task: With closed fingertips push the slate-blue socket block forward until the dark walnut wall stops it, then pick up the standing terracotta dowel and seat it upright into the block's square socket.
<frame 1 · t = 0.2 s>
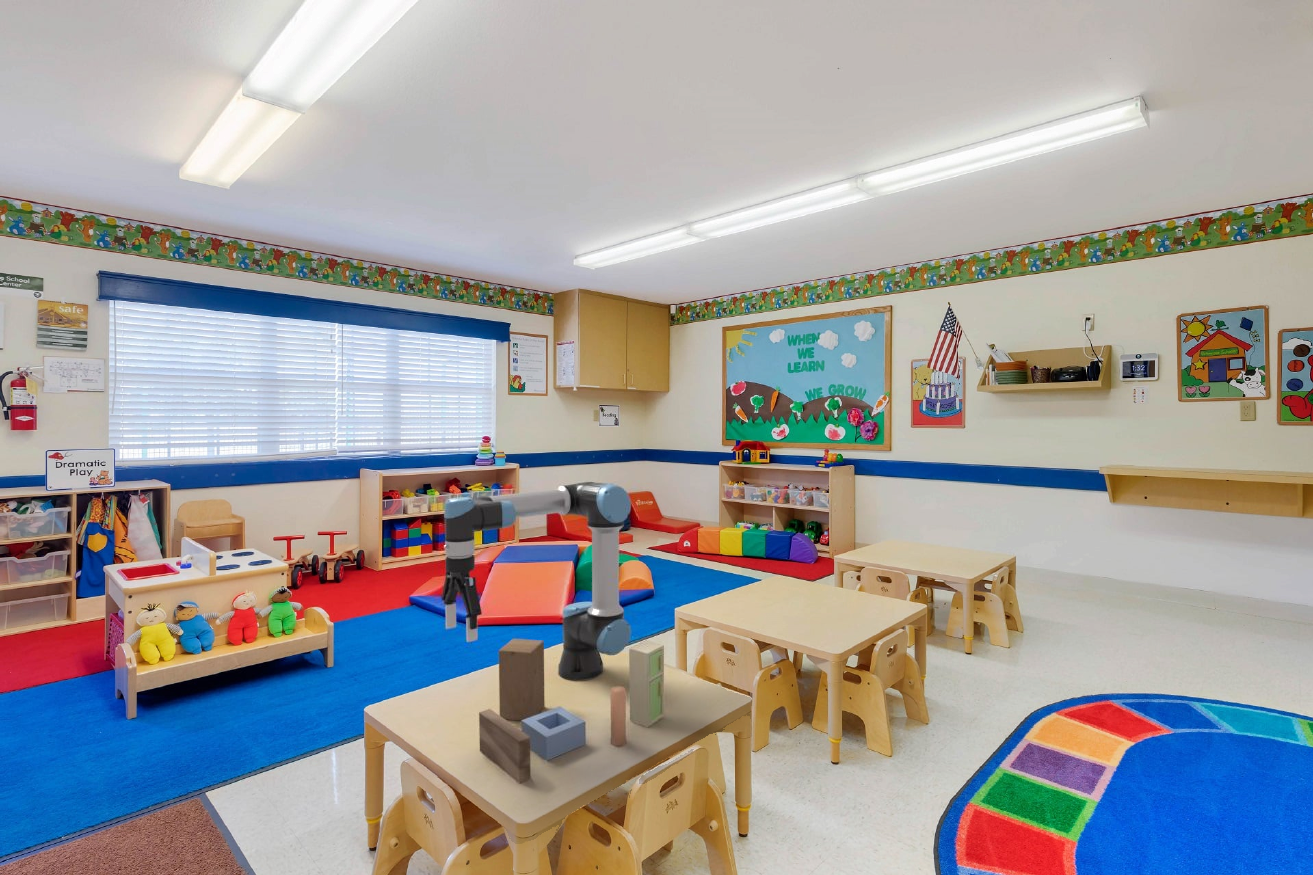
hand: (461, 634, 170), 28 cm above the table, fingers open, 13 cm apart
wooden block: (522, 713, 184), on the table
socket block: (553, 743, 166), on the table, slide at 0.0 cm
dowel: (618, 741, 167), on the table
wall: (504, 763, 156), on the table
toy refrigerator: (647, 720, 179), on the table
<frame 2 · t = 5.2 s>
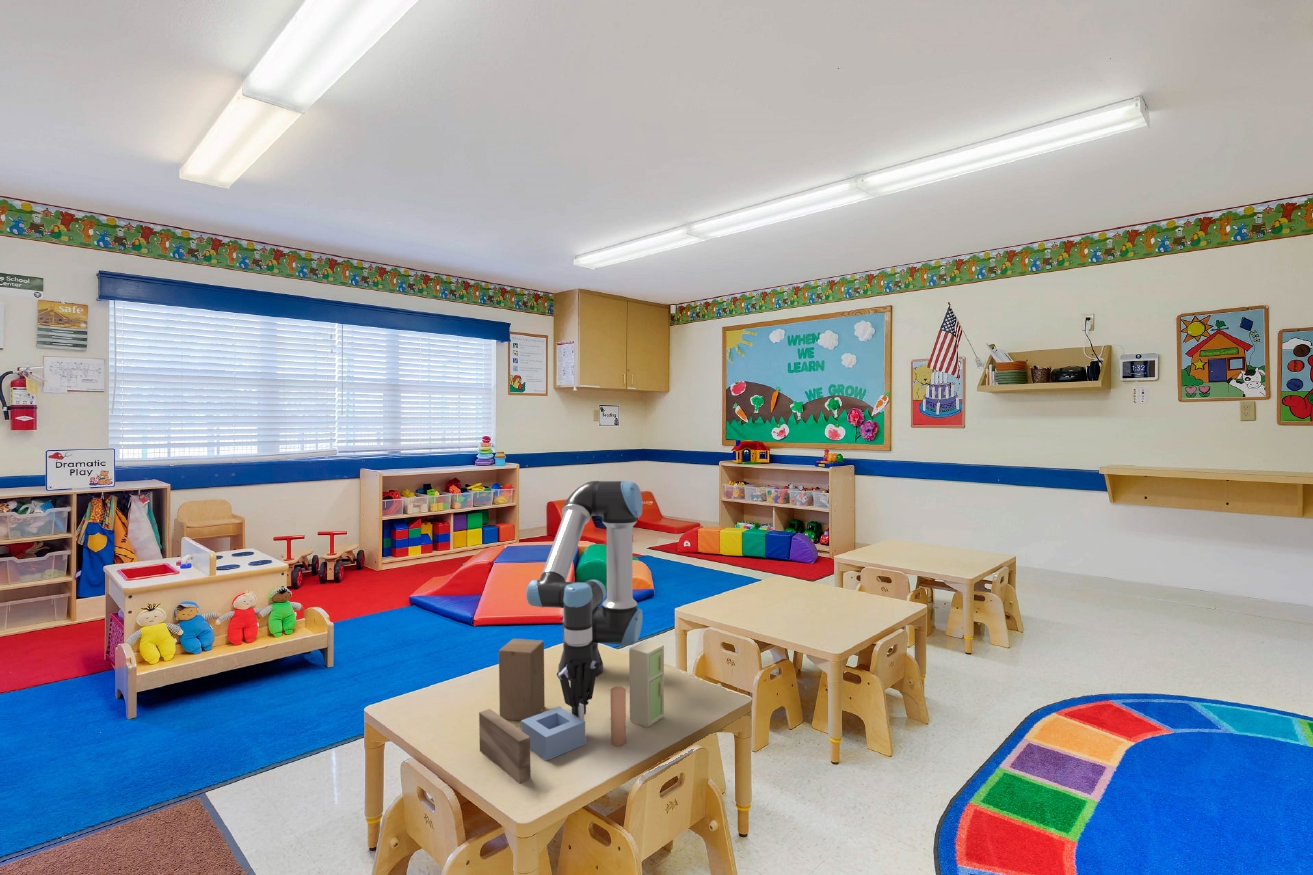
hand: (579, 727, 171), 2 cm above the table, fingers closed
socket block: (553, 743, 166), on the table, slide at 0.1 cm, touching gripper
everything else where it was.
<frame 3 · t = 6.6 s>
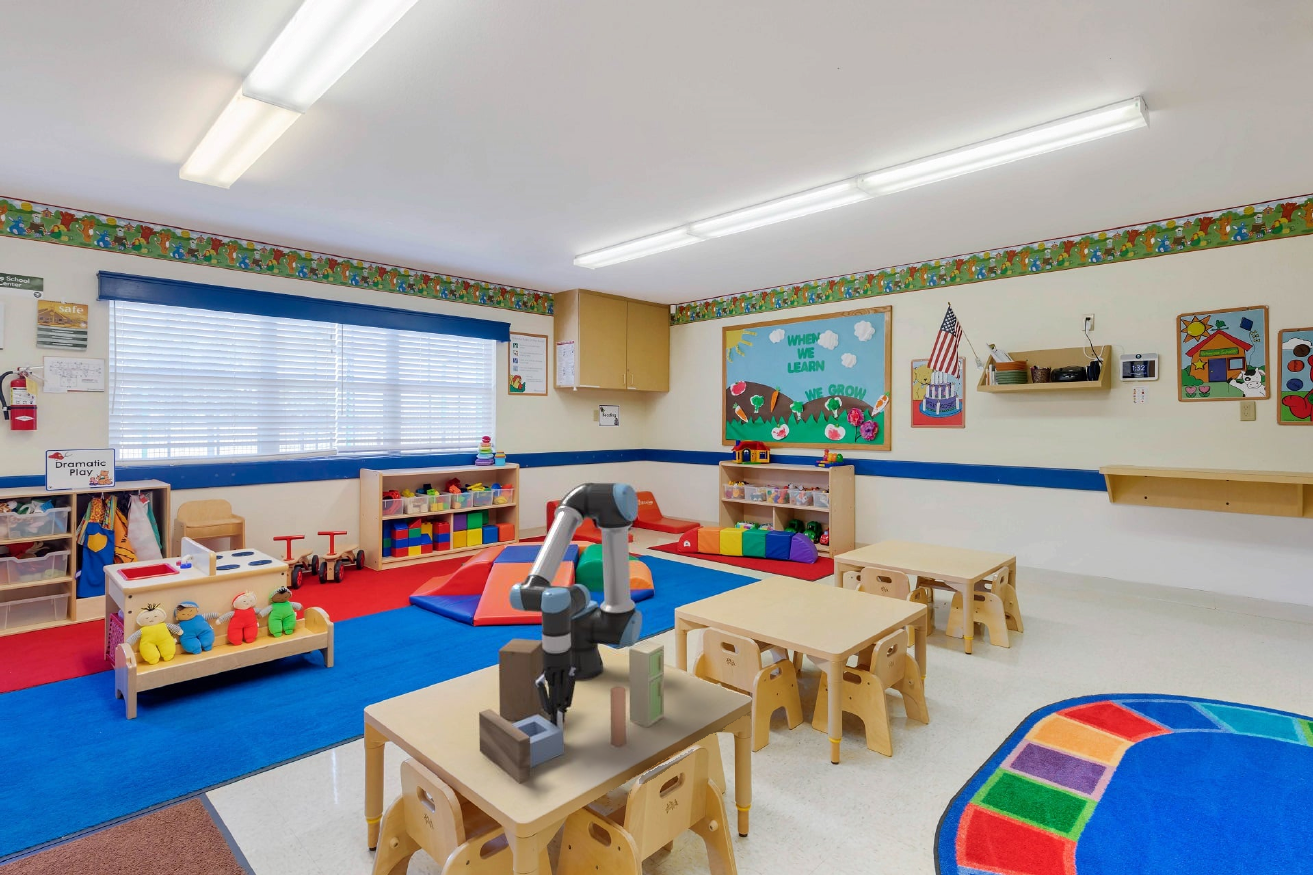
hand: (557, 736, 167), 2 cm above the table, fingers closed
socket block: (530, 752, 161), on the table, slide at 7.0 cm, touching gripper, wall
everything else where it was.
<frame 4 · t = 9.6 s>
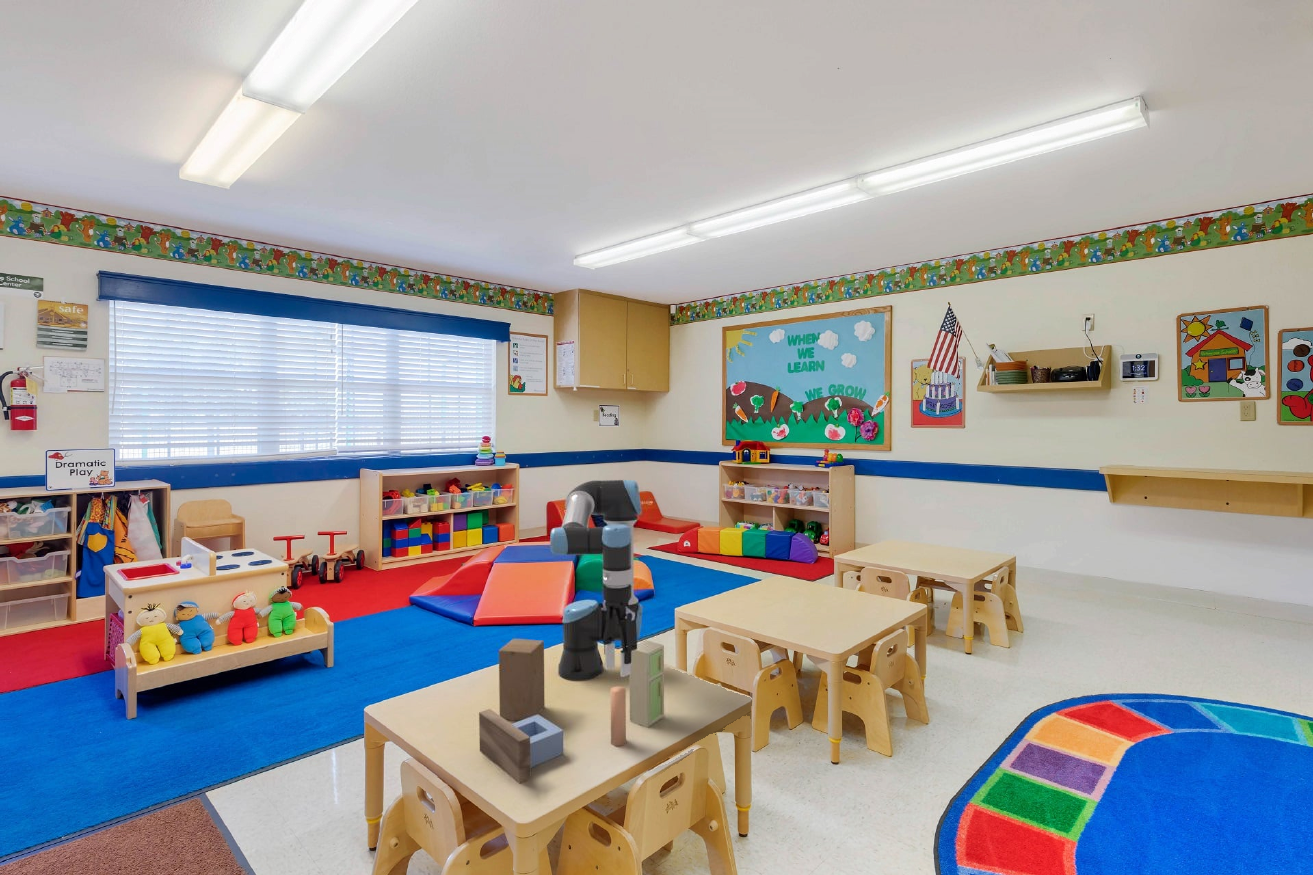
hand: (617, 671, 166), 19 cm above the table, fingers open, 6 cm apart
socket block: (530, 752, 161), on the table, slide at 7.0 cm
everything else where it was.
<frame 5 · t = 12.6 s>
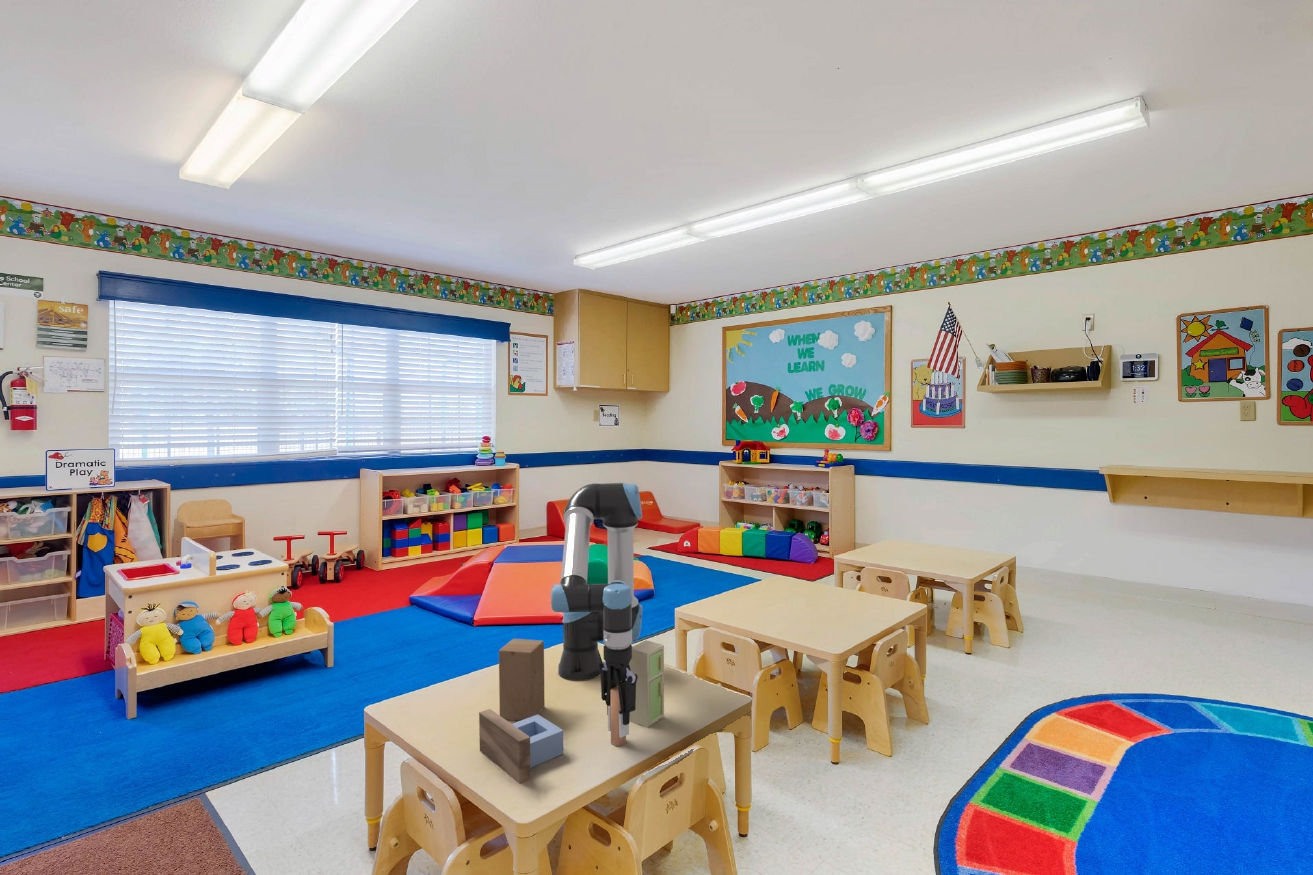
hand: (618, 731, 167), 3 cm above the table, fingers closed on dowel, 4 cm apart
dowel: (618, 741, 167), on the table, touching gripper
everything else where it was.
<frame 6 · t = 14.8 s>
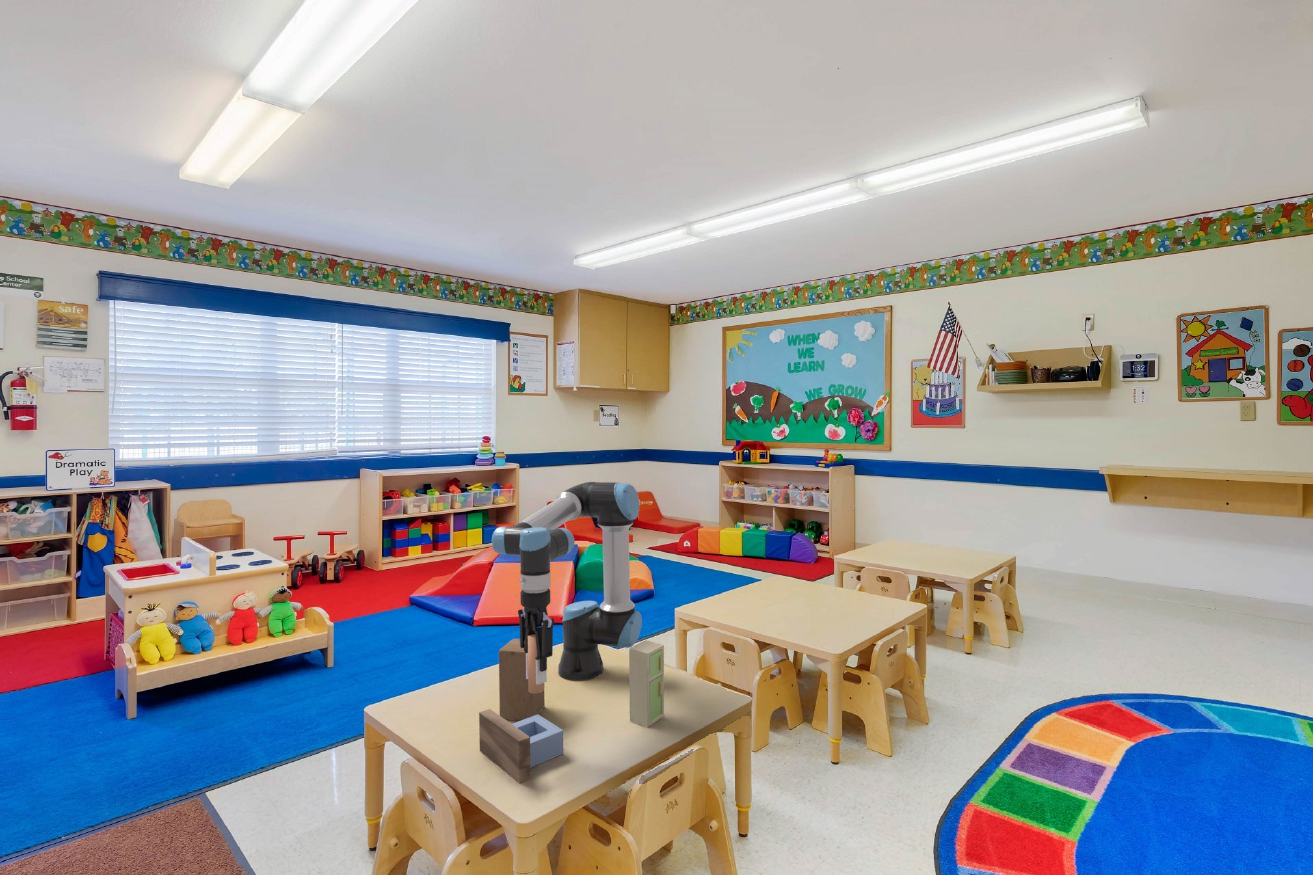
hand: (536, 679, 161), 19 cm above the table, fingers closed on dowel, 4 cm apart
dowel: (536, 690, 161), point 16 cm above the table, touching gripper
everything else where it was.
when the fingers open (8 cm above the table, at t = 17.2 s): dowel drops 2 cm, resting on socket block.
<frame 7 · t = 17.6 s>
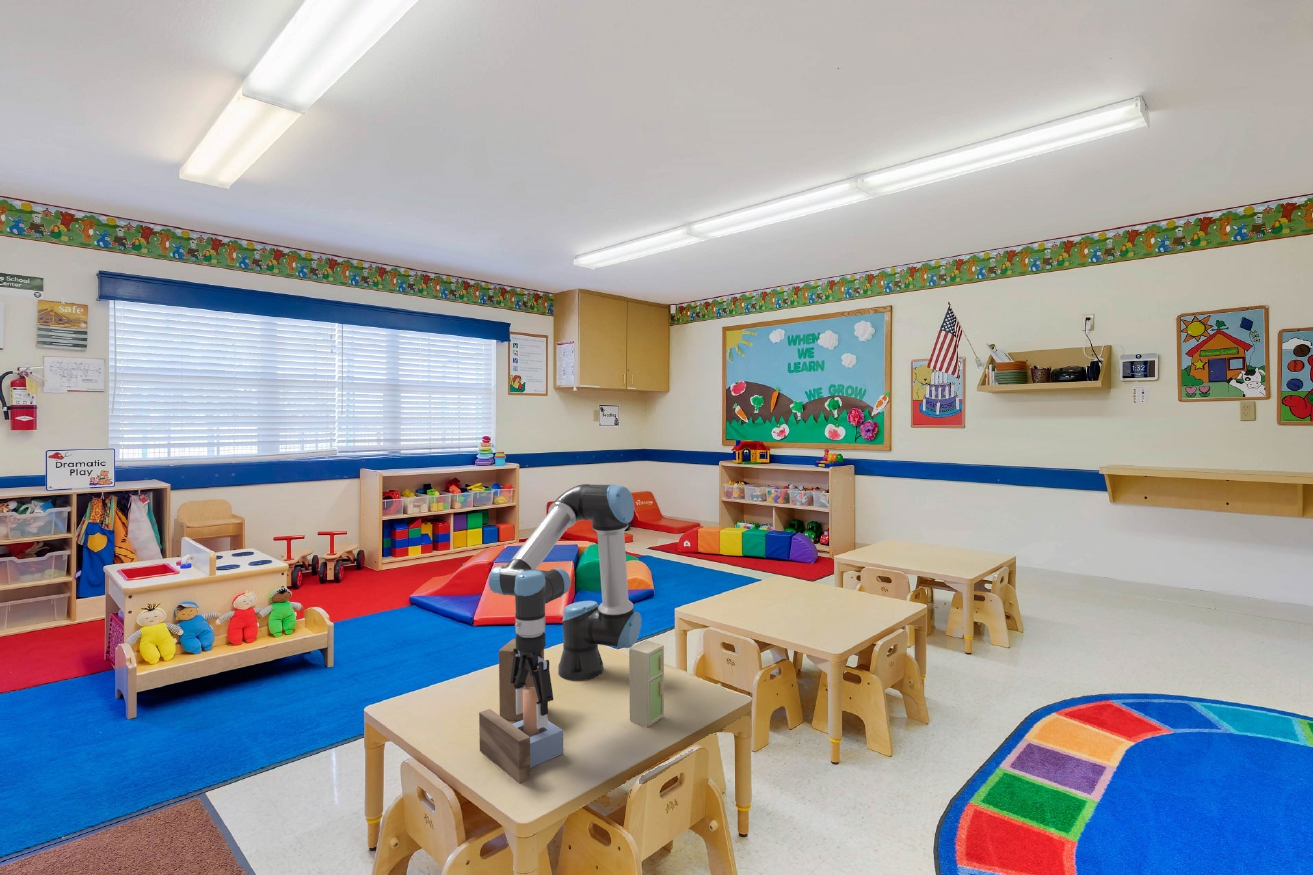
hand: (531, 719, 161), 9 cm above the table, fingers open, 9 cm apart
socket block: (530, 752, 161), on the table, slide at 7.0 cm, touching dowel
dowel: (531, 744, 161), point 2 cm above the table, touching socket block
everything else where it was.
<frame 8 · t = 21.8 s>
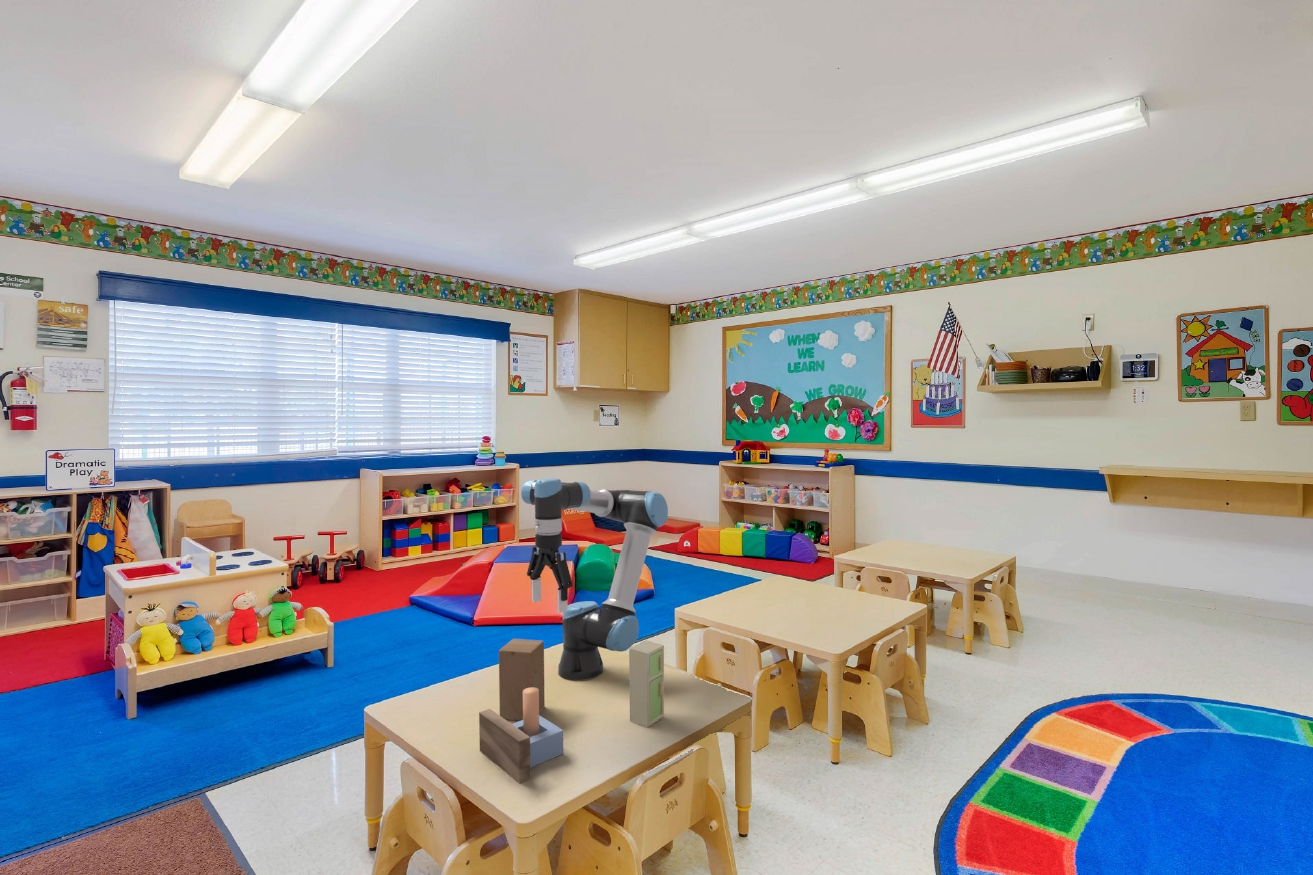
hand: (549, 606, 181), 32 cm above the table, fingers open, 13 cm apart
nothing on the table moved.
at the end: socket block slide at 7.0 cm; dowel inside the target area (0.4 cm from its centre), point 2.1 cm above the table; dowel tilted 0° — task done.
